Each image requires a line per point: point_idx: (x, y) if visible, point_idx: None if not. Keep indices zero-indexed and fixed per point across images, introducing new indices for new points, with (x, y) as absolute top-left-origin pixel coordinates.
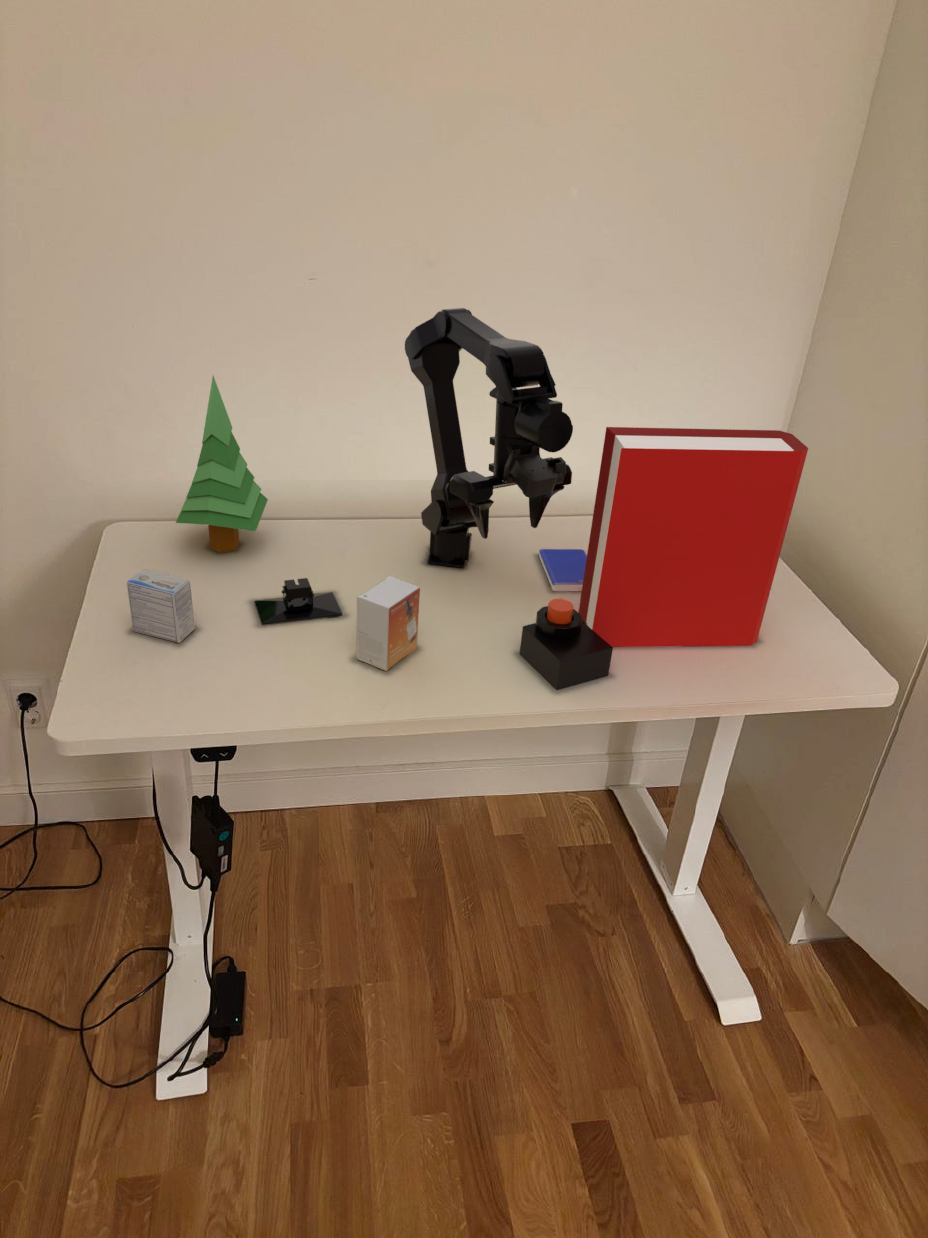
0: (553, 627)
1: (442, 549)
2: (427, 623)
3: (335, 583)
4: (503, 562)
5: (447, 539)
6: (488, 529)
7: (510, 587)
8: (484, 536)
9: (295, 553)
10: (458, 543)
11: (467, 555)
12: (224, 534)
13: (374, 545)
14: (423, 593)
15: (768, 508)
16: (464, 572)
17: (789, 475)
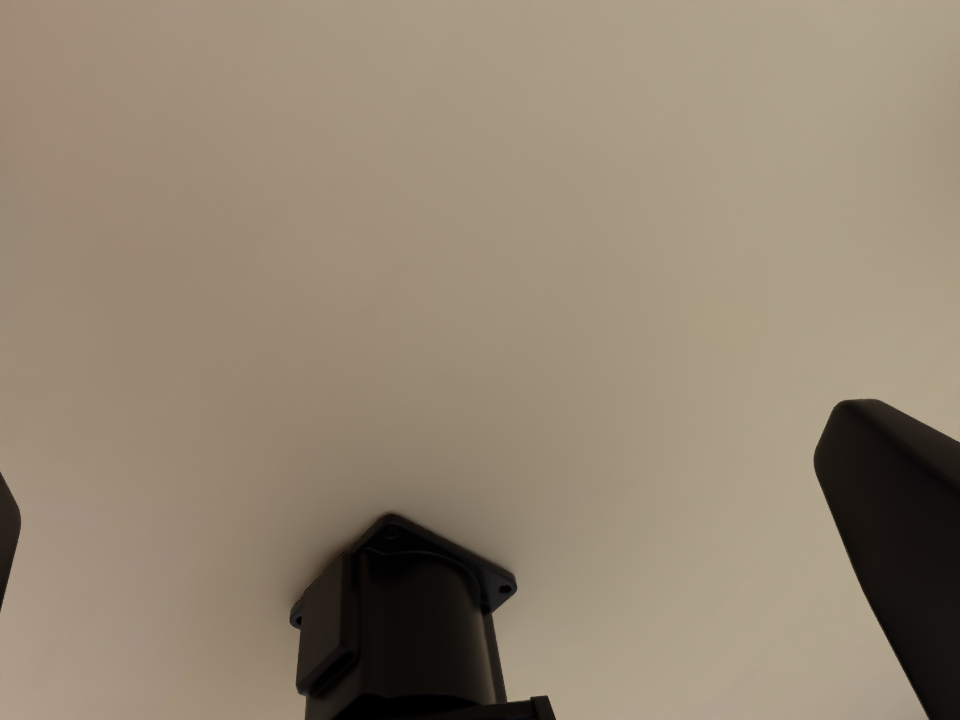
0: None
1: (472, 621)
2: (869, 145)
3: None
4: (159, 506)
5: (464, 665)
6: (947, 480)
7: (241, 292)
8: (908, 418)
9: (854, 711)
10: (403, 636)
11: (350, 571)
12: None
13: (607, 708)
14: (685, 390)
15: None
16: (400, 483)
17: None
